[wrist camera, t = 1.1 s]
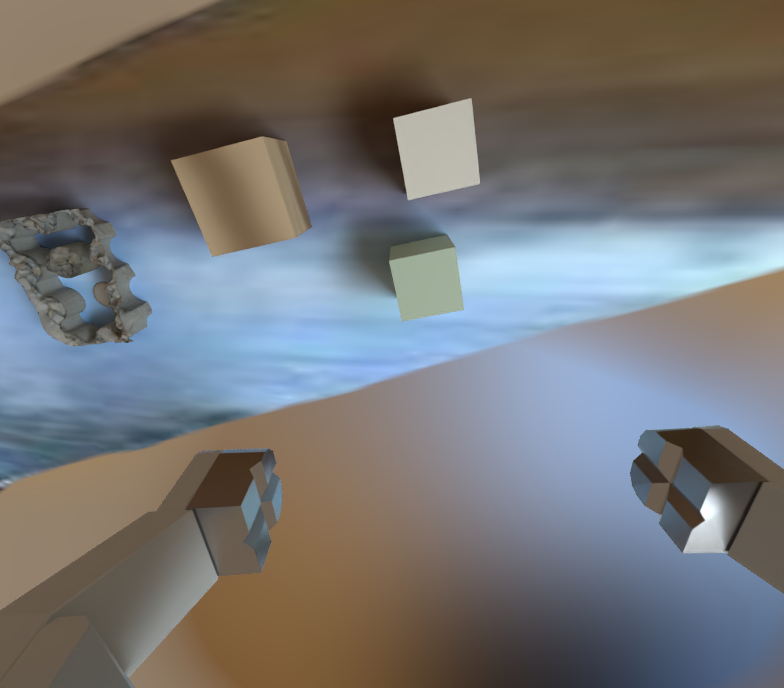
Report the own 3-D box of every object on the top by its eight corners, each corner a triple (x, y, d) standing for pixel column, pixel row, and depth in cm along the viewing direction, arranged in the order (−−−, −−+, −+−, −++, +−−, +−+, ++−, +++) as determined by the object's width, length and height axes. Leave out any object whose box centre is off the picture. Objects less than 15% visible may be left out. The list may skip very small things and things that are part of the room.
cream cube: (459, 110, 25) (471, 98, 20) (466, 180, 27) (480, 183, 22) (394, 126, 25) (393, 118, 21) (407, 194, 27) (408, 200, 23)
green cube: (447, 234, 28) (455, 247, 24) (454, 288, 30) (463, 309, 26) (390, 246, 29) (389, 260, 25) (402, 299, 31) (402, 321, 26)
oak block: (286, 141, 26) (262, 136, 22) (312, 226, 29) (295, 237, 24) (209, 161, 27) (171, 160, 22) (241, 242, 29) (212, 256, 25)
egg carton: (164, 328, 33) (134, 348, 29) (86, 334, 34) (47, 356, 30) (112, 203, 28) (69, 209, 25) (23, 213, 29) (-32, 220, 25)
